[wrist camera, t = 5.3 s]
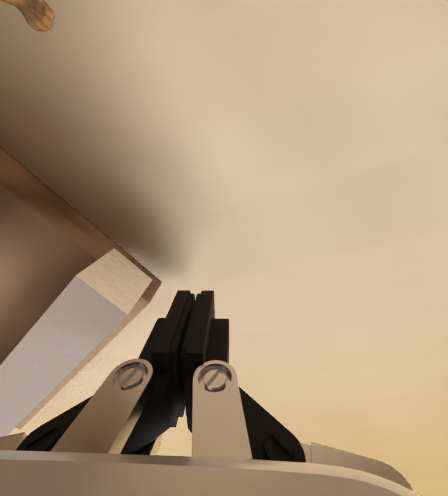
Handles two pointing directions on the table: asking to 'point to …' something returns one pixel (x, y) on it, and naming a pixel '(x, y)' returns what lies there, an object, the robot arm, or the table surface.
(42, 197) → the stool seat
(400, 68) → the table surface
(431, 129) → the table surface
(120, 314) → the folding leg
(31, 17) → the lion figurine
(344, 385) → the table surface
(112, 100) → the table surface
